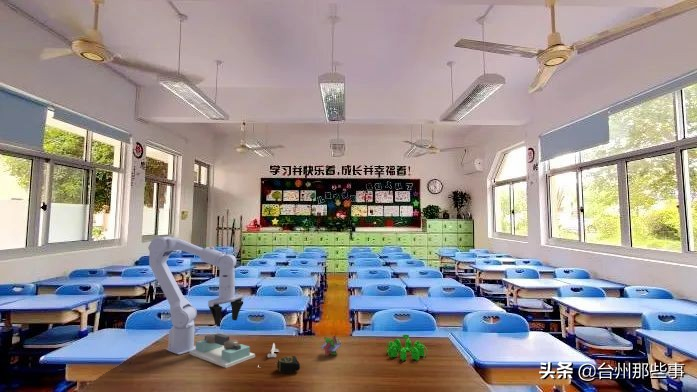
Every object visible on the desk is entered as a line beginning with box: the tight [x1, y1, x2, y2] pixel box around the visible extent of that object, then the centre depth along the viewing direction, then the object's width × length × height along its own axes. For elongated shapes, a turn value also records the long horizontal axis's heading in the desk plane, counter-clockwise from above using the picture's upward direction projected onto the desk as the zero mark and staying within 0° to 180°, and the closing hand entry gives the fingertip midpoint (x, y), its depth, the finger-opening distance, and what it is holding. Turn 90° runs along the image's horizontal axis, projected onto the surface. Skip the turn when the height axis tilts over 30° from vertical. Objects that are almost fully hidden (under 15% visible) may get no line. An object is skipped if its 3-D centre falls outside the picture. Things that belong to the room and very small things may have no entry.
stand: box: [189, 338, 256, 369], centre depth 129 cm, size 22×12×4 cm, turn 54°
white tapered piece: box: [257, 342, 280, 368], centre depth 125 cm, size 15×7×4 cm, turn 0°
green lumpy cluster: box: [385, 334, 428, 362], centre depth 129 cm, size 15×15×7 cm
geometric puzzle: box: [320, 335, 342, 358], centre depth 129 cm, size 7×7×8 cm
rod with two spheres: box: [204, 333, 241, 350], centre depth 129 cm, size 20×5×3 cm, turn 54°
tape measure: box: [276, 355, 301, 374], centre depth 115 cm, size 7×7×4 cm
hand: (226, 322), depth 137 cm, fingers open, 7 cm apart
